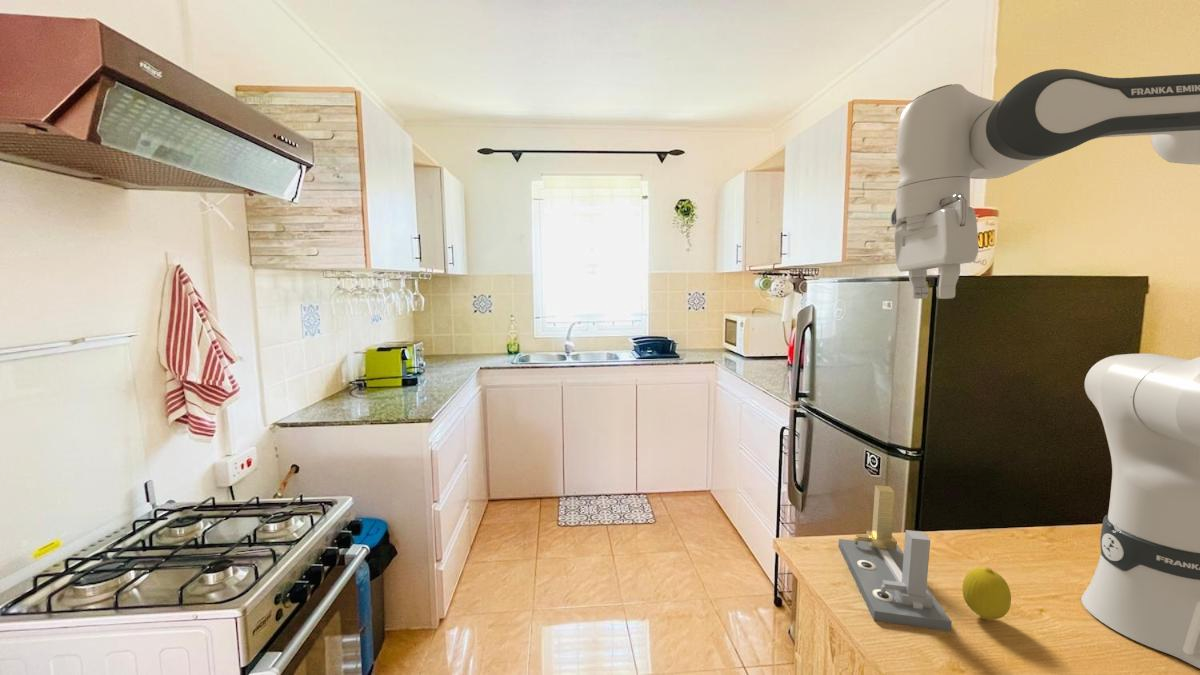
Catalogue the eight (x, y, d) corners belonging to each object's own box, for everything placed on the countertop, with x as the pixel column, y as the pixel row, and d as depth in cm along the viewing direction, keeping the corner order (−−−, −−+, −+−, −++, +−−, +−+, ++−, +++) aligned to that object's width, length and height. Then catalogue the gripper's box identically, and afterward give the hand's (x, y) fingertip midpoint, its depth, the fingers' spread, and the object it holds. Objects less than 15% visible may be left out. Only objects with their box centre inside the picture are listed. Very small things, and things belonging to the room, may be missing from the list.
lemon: (1017, 634, 66) (1023, 582, 66) (973, 629, 68) (978, 577, 67) (993, 608, 72) (998, 559, 71) (952, 603, 73) (957, 555, 72)
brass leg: (890, 543, 86) (894, 486, 85) (896, 552, 83) (900, 493, 82) (851, 539, 88) (855, 482, 86) (856, 547, 85) (860, 490, 83)
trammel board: (897, 552, 87) (901, 491, 85) (950, 631, 67) (957, 552, 66) (838, 546, 89) (841, 485, 87) (873, 620, 70) (879, 544, 68)
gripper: (994, 186, 59) (993, 297, 59) (929, 214, 78) (930, 297, 79) (935, 192, 60) (936, 299, 61) (887, 218, 80) (887, 299, 81)
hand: (932, 298), depth 70 cm, fingers open, 8 cm apart
